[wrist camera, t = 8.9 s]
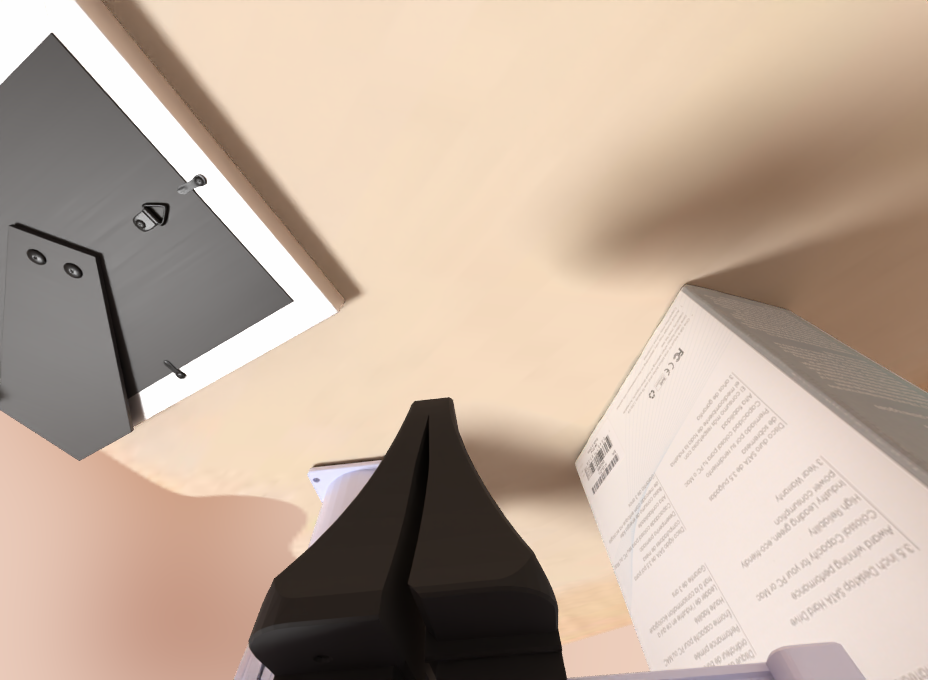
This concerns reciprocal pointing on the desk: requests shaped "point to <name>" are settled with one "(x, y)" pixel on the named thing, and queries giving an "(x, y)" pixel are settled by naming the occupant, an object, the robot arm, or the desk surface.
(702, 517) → the hard drive box
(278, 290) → the picture frame
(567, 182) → the desk surface
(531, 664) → the robot arm
